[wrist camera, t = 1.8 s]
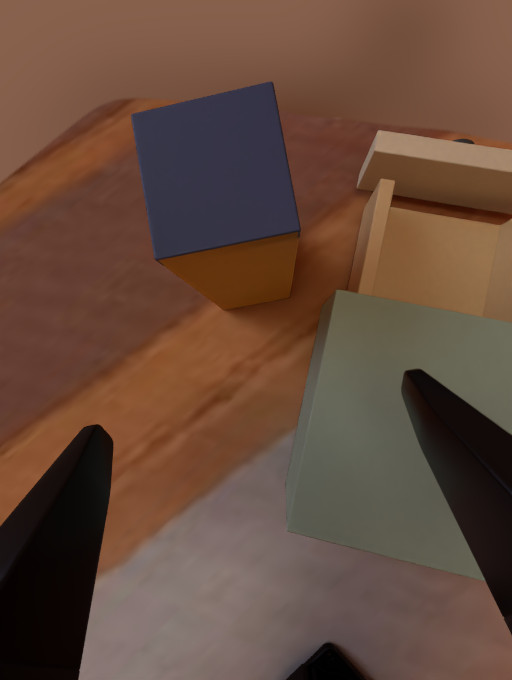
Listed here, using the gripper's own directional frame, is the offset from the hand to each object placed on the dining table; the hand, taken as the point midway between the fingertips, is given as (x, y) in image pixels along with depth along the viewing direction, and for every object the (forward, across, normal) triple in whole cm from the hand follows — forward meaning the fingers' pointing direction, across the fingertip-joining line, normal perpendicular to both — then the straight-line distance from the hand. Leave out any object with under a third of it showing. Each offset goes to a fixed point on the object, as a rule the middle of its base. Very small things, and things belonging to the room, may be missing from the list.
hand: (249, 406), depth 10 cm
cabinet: (+7, -8, +12) cm, 16 cm away
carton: (+15, 0, +4) cm, 16 cm away
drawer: (+13, -11, +5) cm, 18 cm away
